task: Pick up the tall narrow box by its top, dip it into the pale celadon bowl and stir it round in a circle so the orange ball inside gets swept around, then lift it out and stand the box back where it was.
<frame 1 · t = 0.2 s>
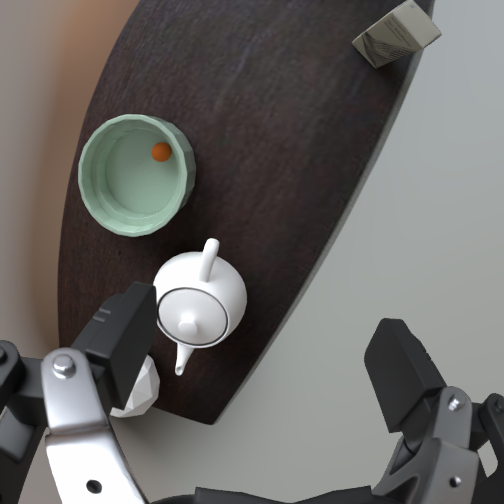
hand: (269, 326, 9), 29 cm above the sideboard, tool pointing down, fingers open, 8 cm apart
ball: (161, 152, 33), point 2 cm above the sideboard, touching bowl
box: (372, 49, 28), on the sideboard
bowl: (143, 170, 35), on the sideboard
teapot: (201, 289, 43), on the sideboard
geometric shape: (133, 354, 49), on the sideboard
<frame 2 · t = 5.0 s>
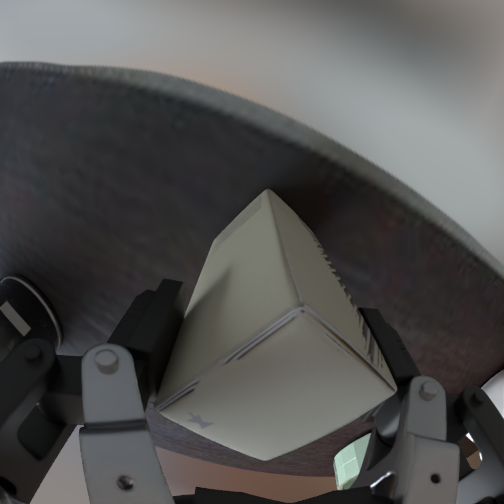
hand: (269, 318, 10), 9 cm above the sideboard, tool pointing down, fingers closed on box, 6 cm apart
box: (264, 233, 18), on the sideboard, touching gripper
bowl: (383, 445, 30), on the sideboard
teapot: (491, 389, 27), on the sideboard
geometric shape: (497, 418, 33), on the sideboard
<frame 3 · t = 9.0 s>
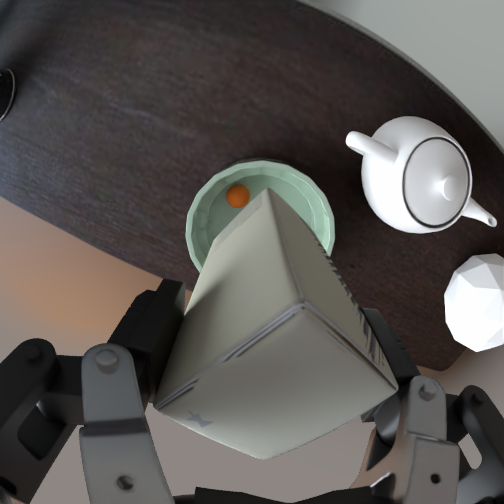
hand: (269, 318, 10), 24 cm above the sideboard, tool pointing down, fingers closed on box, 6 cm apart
ball: (238, 196, 30), point 2 cm above the sideboard, touching bowl
box: (265, 232, 18), point 15 cm above the sideboard, touching gripper
bowl: (260, 221, 33), on the sideboard
teapot: (405, 172, 30), on the sideboard
geometric shape: (461, 280, 37), on the sideboard
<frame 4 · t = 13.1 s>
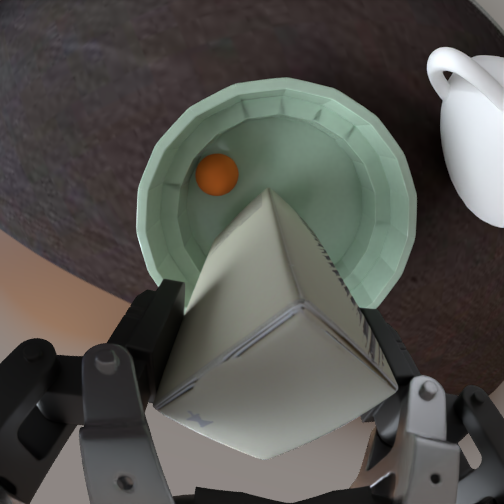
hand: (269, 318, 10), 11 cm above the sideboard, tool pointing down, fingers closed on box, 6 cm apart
ball: (216, 174, 16), point 2 cm above the sideboard, touching bowl
box: (265, 232, 18), point 2 cm above the sideboard, touching gripper
bowl: (276, 206, 19), on the sideboard
teapot: (484, 141, 16), on the sideboard
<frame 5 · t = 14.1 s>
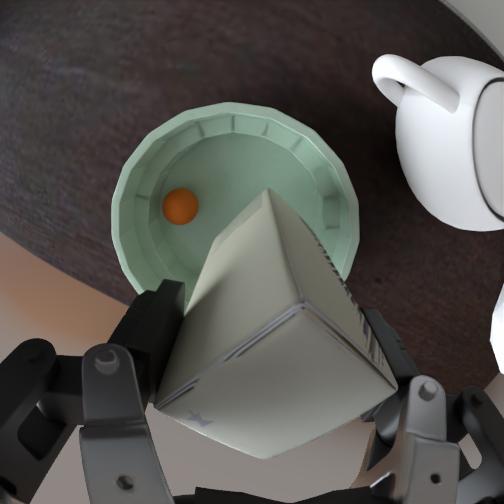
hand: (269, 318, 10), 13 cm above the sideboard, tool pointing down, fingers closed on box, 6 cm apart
ball: (180, 206, 19), point 2 cm above the sideboard, tilted 59°, touching bowl
box: (265, 232, 18), point 4 cm above the sideboard, touching gripper
bowl: (237, 213, 21), on the sideboard
teapot: (452, 143, 18), on the sideboard
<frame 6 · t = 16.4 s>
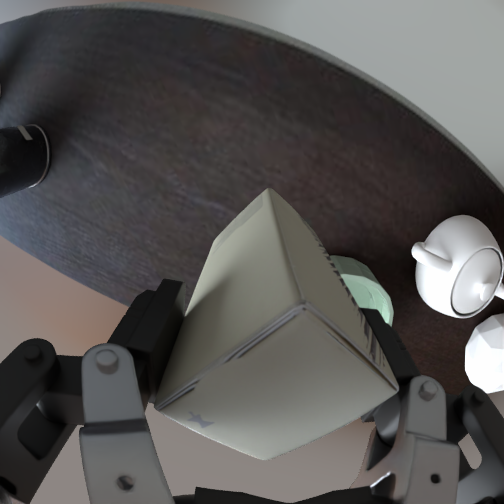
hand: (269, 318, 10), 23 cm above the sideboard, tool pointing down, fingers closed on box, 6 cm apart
box: (265, 233, 18), point 14 cm above the sideboard, touching gripper
bowl: (326, 305, 36), on the sideboard
teapot: (448, 256, 33), on the sideboard
geometric shape: (480, 330, 38), on the sideboard
when the fingers open (9 cm above the sideboard, at t = 21.7 s): box stays where it is, on the sideboard.
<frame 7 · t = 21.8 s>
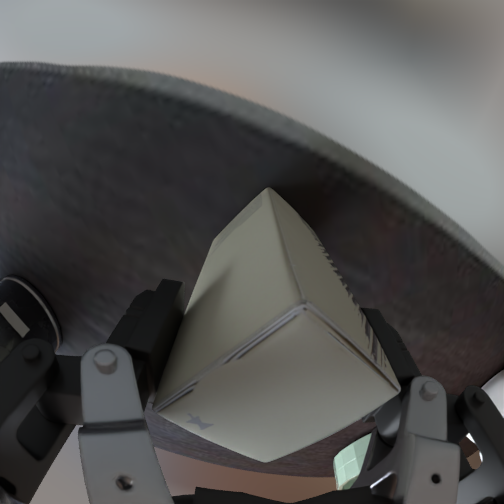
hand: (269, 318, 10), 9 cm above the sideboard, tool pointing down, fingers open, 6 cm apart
box: (265, 232, 18), on the sideboard
bowl: (383, 445, 30), on the sideboard
teapot: (491, 389, 27), on the sideboard
geometric shape: (497, 418, 32), on the sideboard
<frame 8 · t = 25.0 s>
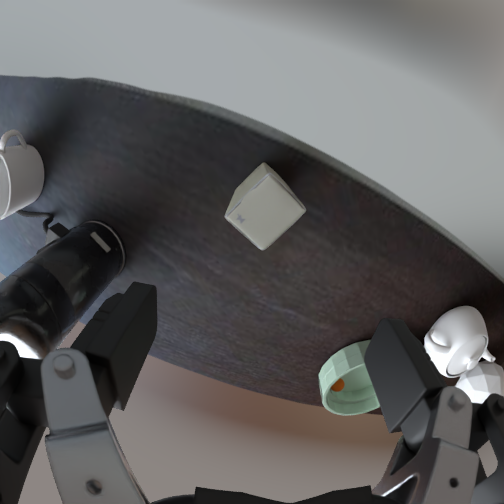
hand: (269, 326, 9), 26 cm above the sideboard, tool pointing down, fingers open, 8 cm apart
ball: (337, 384, 44), point 2 cm above the sideboard, tilted 170°, touching bowl
box: (262, 186, 33), on the sideboard
bowl: (358, 368, 45), on the sideboard
mug: (28, 166, 32), on the sideboard
teapot: (448, 328, 42), on the sideboard
geometric shape: (468, 370, 48), on the sideboard
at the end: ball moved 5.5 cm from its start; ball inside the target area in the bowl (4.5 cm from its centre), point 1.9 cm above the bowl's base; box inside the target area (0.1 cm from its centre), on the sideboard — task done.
